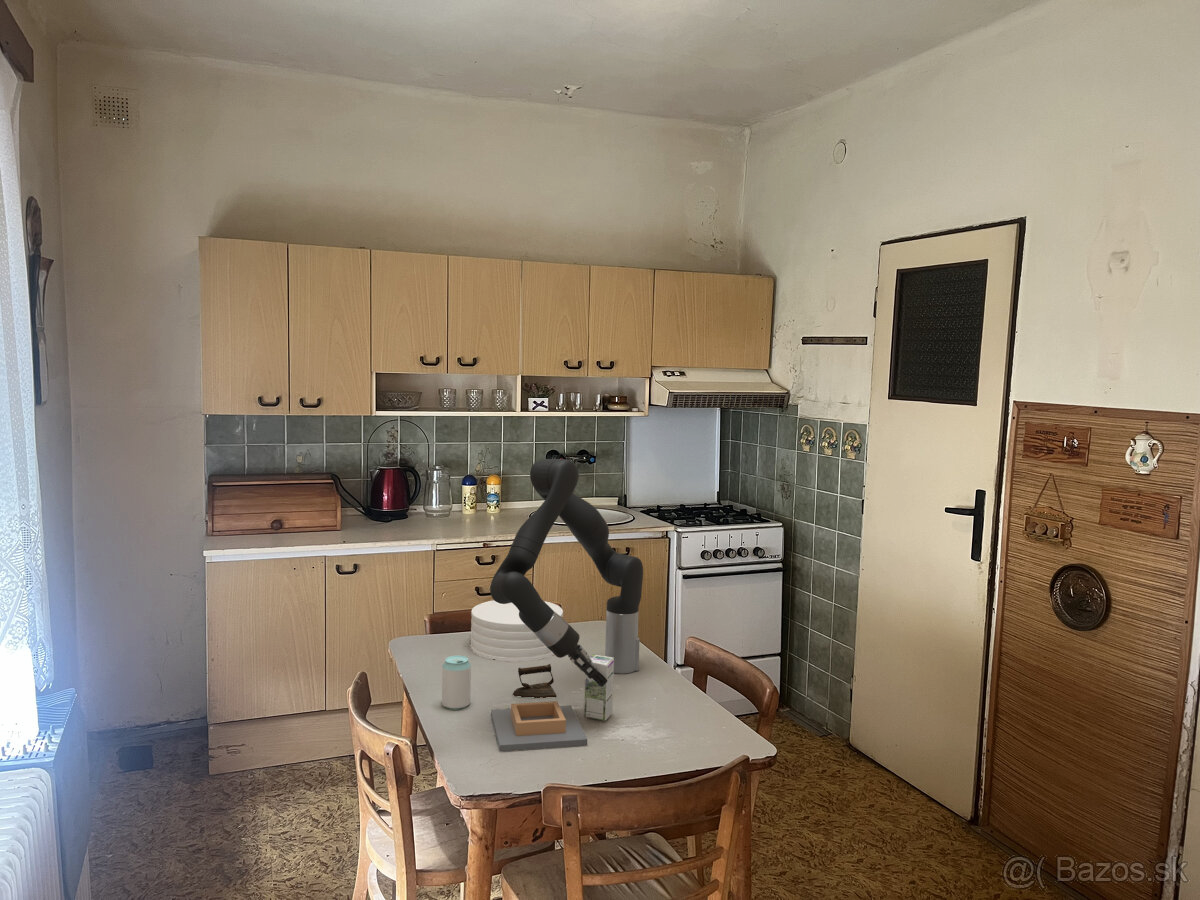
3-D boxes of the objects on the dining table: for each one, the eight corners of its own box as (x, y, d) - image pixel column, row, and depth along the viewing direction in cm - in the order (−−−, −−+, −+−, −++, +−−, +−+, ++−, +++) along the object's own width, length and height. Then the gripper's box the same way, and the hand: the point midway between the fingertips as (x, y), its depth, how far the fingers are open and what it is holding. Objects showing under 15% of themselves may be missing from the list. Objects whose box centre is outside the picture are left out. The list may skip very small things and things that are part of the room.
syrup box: (612, 713, 210) (614, 656, 209) (605, 722, 204) (607, 663, 203) (591, 709, 212) (593, 653, 211) (583, 718, 206) (585, 660, 205)
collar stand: (570, 710, 212) (571, 693, 211) (587, 745, 192) (587, 726, 192) (490, 715, 207) (491, 698, 207) (499, 751, 188) (499, 732, 187)
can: (474, 701, 216) (475, 655, 215) (464, 712, 209) (465, 665, 208) (448, 698, 217) (449, 653, 216) (437, 708, 210) (438, 662, 209)
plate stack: (485, 630, 276) (485, 595, 275) (569, 636, 272) (570, 601, 271) (459, 658, 248) (459, 620, 247) (552, 665, 245) (553, 627, 243)
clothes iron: (559, 699, 221) (552, 665, 218) (517, 712, 218) (510, 677, 215) (553, 686, 227) (546, 653, 225) (512, 699, 224) (505, 666, 222)
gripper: (572, 631, 197) (618, 677, 201) (561, 614, 211) (605, 656, 215) (549, 654, 196) (596, 699, 200) (540, 635, 210) (584, 678, 214)
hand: (600, 677), depth 207 cm, fingers closed on syrup box, 8 cm apart
